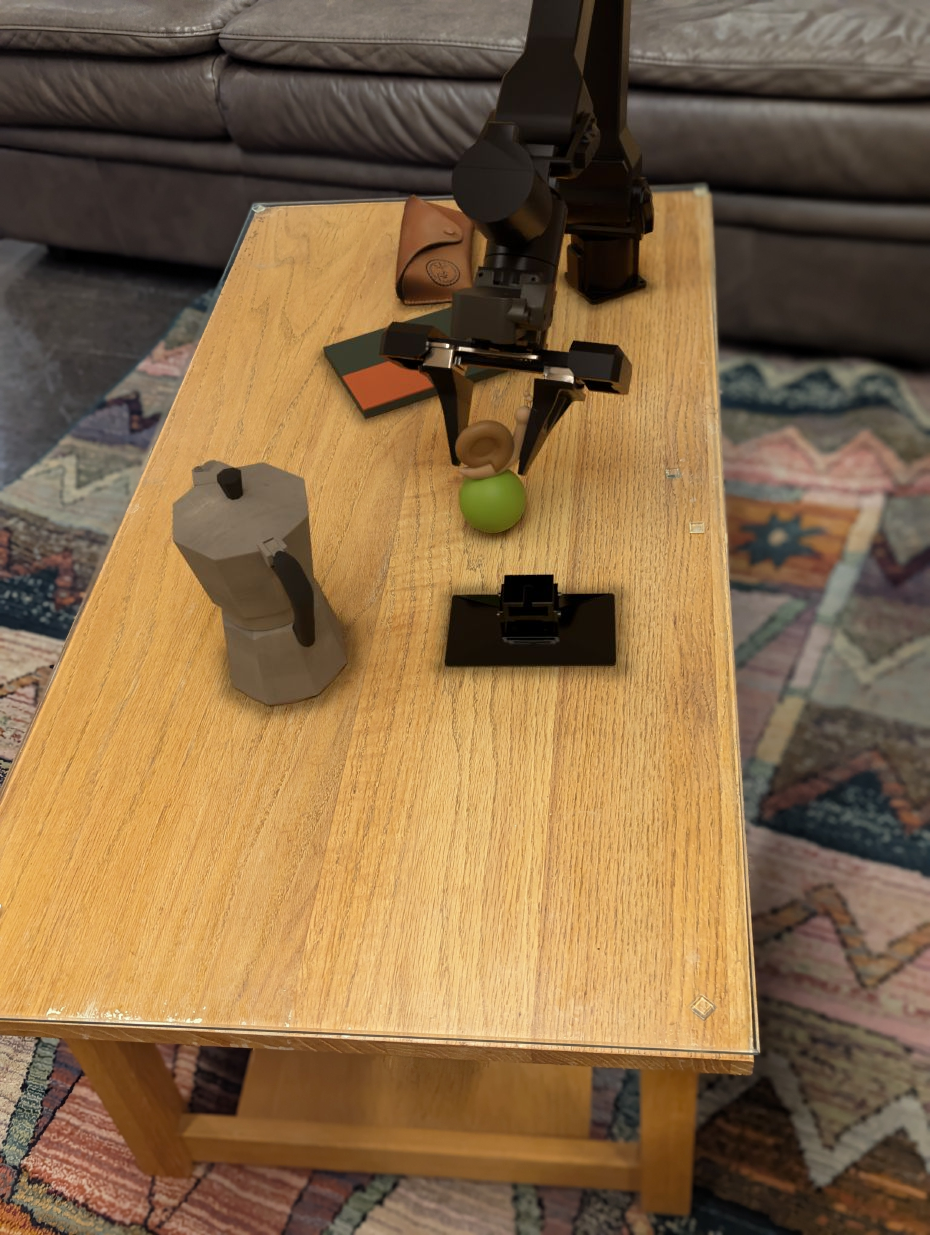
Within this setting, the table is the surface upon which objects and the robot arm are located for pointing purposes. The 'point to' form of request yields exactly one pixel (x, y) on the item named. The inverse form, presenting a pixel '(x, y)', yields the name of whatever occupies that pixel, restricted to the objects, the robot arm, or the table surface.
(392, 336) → the robot arm
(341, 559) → the table surface
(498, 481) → the snail figurine
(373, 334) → the corner mat
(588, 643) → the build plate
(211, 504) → the coffeepot
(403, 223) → the sunglasses case
